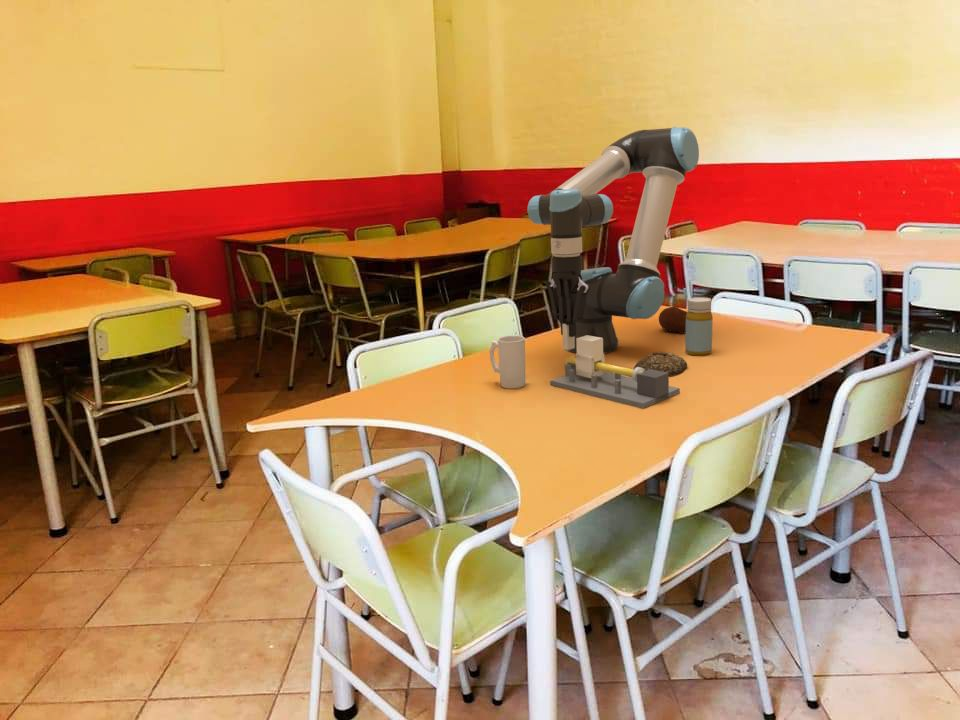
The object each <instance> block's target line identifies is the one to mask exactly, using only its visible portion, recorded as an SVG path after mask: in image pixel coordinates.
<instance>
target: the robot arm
mask: <svg viewBox="0 0 960 720" xmlns="http://www.w3.org/2000/svg"><path fill="white" fill-rule="evenodd" d="M699 158H700V149H699V143H698V140H697V136H696V135H695V133H694V132H693V130H692V129H690V128H689V127H676V126H673V127H668V128H667V127H666V128H654V129H653V128H652V129H640V130H636V131H634V132H631V133H629V134H626V135H624V136H622V137H621V138H619V139H617V140H615V141H614V142H612V143H611V144H610V145H609V146H606V148H604V149H603V150H602V152H601V153H600V156H599V157H598V158H597V159H595V160H594V161H593V162H591V163H590V164H588V165H587V166H585V167H584V168H582V169H581V170H580V171H578V172H576V173H575V175H573V176H572V177H570V178H568V179H567V180H566V181H564V182H563V183H562V184H561V185H559V186H557V188H555V189H553V190H552V191H550V192H549V193H548V194H540V195H534V196H532V198H530V200H529V201H528V204H527V214H528V218H529V220H530V221H531V222H532V223H533V224H535V225H542V226H550V249H551V251H550V252H551V254H552V255H551V257H550V258H551V259H550V260H551V271H553V273H552V279H550V280H548V281H545V283H544V284H545V286H546V288H547V292H548V294H549V299H550V305H551V309H552V315H553V319H554V320H555V321H556V320H557V321H558V322H559V323H560V335H561V336H562V349H563V351H568V352H570V353H574V354H577V344H576V338H579V337H583V336H586V335H589V336H595V337H600V338H603V353H604V354H607V353H612V352H615V351H617V350H618V349H619V339H618V337H617V332H616V330H615V325H614V323H613V317H621V318H628V319H632V320H637V319H638V320H639V319H640V320H648V319H650V318H652V317H653V316H654V315H655V314H657V313H658V311H659V310H660V308H661V306H662V305H663V302H664V299H665V292H666V291H665V290H664V289H665V284H664V281H663V280H662V279H661V278H660V277H661V273H660V271H659V269H658V262H659V258H660V255H661V251H662V246H663V243H664V239H665V234H666V230H667V227H668V224H669V218H670V215H671V211H672V206H673V202H674V199H675V195H676V192H677V187H678V185H680V184H683V182H684V181H685V178H686V174H687V172H691V171H694V169H696V168H697V166H698V164H699ZM634 173H642V175H643V177H644V178H645V183H644V187H643V191H642V195H641V198H640V202H639V206H638V210H637V214H636V218H635V222H634V226H633V229H632V234H631V237H630V241H629V245H628V249H627V252H626V253H627V254H626V257H625V260H624V261H622V262H620V263H619V264H618V266H617V270H616V272H615V273H613V270H612V268H611V267H609V266H606V267H594V268H587V269H583V256H582V253H583V234H582V233H583V231H582V230H583V228H586V227H592V226H600V225H602V224H606V223H608V222H609V220H610V219H612V216H613V213H614V205H613V202H612V200H611V198H610V197H609V196H607V195H606V194H603V193H602V194H601V193H599V192H601V190H603V189H604V188H606V187H607V186H609V185H610V184H611V183H613V181H615V180H617V179H623V178H625V177H626V176H627V175H630V174H634ZM598 193H599V194H598Z"/></svg>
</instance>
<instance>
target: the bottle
mask: <svg viewBox="0 0 960 720" xmlns="http://www.w3.org/2000/svg"><path fill="white" fill-rule="evenodd" d="M686 312H687V315H686V333H685V336H684V337H685V341H684V344H685V347H684V349H685V353H687V355H690V356H695V355H700V356H699V357H701V356H708V355H710V354H711V353H712V351H713V349H712V348H713V321H714V320H713V319H714V318H713V316H714V315H713V314H712V299H711V298H710V297H690V298H687V311H686Z"/></svg>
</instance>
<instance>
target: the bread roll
mask: <svg viewBox="0 0 960 720" xmlns="http://www.w3.org/2000/svg"><path fill="white" fill-rule="evenodd" d="M636 367H641V368H643V369H644V371H647V370H649V369H652V370H657V371H662V372H667V373H669V377H673V376H675V375H678V374H680V373H682V372H683V371H684V370H685V369H687V367H688V363H687V361H686V360H685V359H684V357H681V356H680V355H677V354H674V353H673V352H672V353H671V352H662V351H653V352H651V353H648V354H646V355H644V357H642V358H641V359H640V360H639V361H638V362H636V363H635V365H634V367H633V368H634V369H635V368H636Z"/></svg>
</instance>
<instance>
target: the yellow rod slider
mask: <svg viewBox="0 0 960 720" xmlns="http://www.w3.org/2000/svg"><path fill="white" fill-rule="evenodd" d="M565 360H566V361H565V362H566V363H565V364H564V375H562V376H559V377H557V378H553V379H551V380H550V381H549V382H550V383H549V384H550V386H552V387H556V388H560V389H564V390H569V391H573V392H575V393H580V394H583V395H588V396H592V397H595V398H600V399H603V400H608V401H612V402H617V403H620V404H624V405H628V406H632V407H637V408H640V409H643V410H644V409H645V408H647V407H650V406H652V405H655V404H658V403H660V402H662V401H664V400H667V399H670V398H671V397H674V396H676V395H679V394H680V393H681V392H680V391H681V389H680V387H675V386H671V385H669V382H670V379H669V377H670V376H669V373H667V372H662V371H657V370H652V369H649V370H647V371H644V369H643V368H641V367H636V368H634V369H633V368H629V367H624V366H623V367H622V366H619V365H613V364H608V363H605V362H604V363H600V362H594V369H597V370H602V371H604V374H603V375H600V376H597V375H595V374H593V375H591V378H588V377H583V376H579V375H576V356H570V355H568V356H567V357H566V359H565Z"/></svg>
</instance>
